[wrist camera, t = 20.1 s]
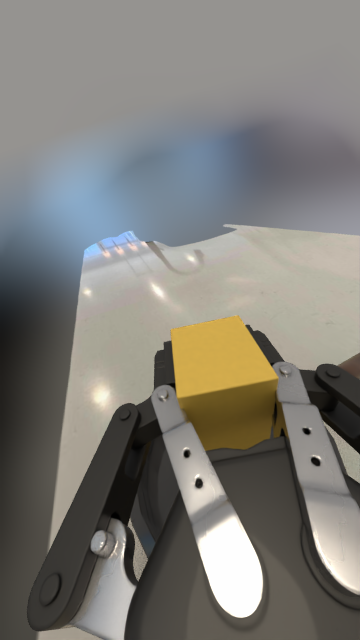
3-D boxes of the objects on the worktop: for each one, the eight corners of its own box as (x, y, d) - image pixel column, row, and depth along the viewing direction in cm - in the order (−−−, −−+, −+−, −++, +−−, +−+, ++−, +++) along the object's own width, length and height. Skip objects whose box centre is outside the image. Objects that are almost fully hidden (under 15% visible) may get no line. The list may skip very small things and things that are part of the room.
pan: (184, 713, 10) (165, 749, 8) (127, 428, 23) (113, 407, 21) (389, 522, 14) (421, 504, 12) (242, 369, 27) (241, 346, 25)
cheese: (266, 464, 13) (280, 377, 8) (202, 476, 13) (176, 398, 8) (240, 398, 17) (238, 314, 12) (191, 408, 17) (170, 328, 12)
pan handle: (302, 419, 18) (306, 407, 17) (284, 402, 20) (287, 390, 19) (391, 362, 22) (399, 349, 20) (370, 351, 23) (376, 338, 22)
